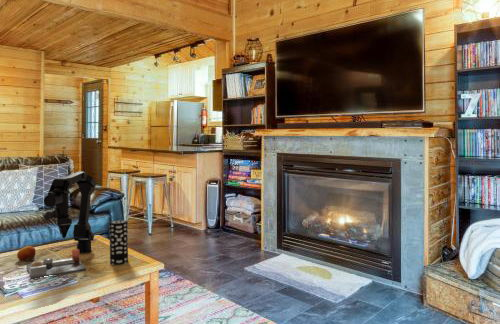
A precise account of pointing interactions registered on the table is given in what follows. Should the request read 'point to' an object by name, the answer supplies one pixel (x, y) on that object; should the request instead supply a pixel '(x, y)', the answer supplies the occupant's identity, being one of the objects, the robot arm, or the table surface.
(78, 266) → the base
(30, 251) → the fruit
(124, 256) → the spotted tube
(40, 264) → the wooden ball
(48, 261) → the lever
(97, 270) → the table surface
